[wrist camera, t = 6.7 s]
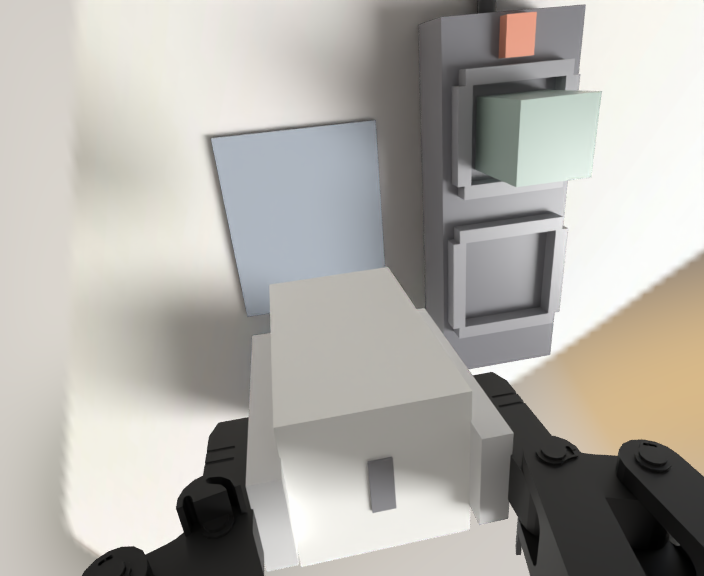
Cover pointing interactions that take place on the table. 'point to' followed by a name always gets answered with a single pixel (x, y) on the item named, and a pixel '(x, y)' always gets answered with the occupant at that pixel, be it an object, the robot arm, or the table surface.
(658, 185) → the table surface
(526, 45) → the strip
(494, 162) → the plug
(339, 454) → the block
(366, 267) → the mat
